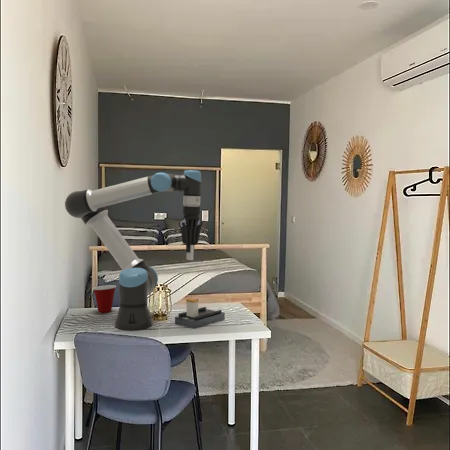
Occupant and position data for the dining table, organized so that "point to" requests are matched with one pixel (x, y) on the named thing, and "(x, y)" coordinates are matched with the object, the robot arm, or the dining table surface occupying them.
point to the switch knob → (192, 307)
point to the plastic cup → (104, 297)
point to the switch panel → (199, 318)
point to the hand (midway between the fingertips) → (189, 259)
